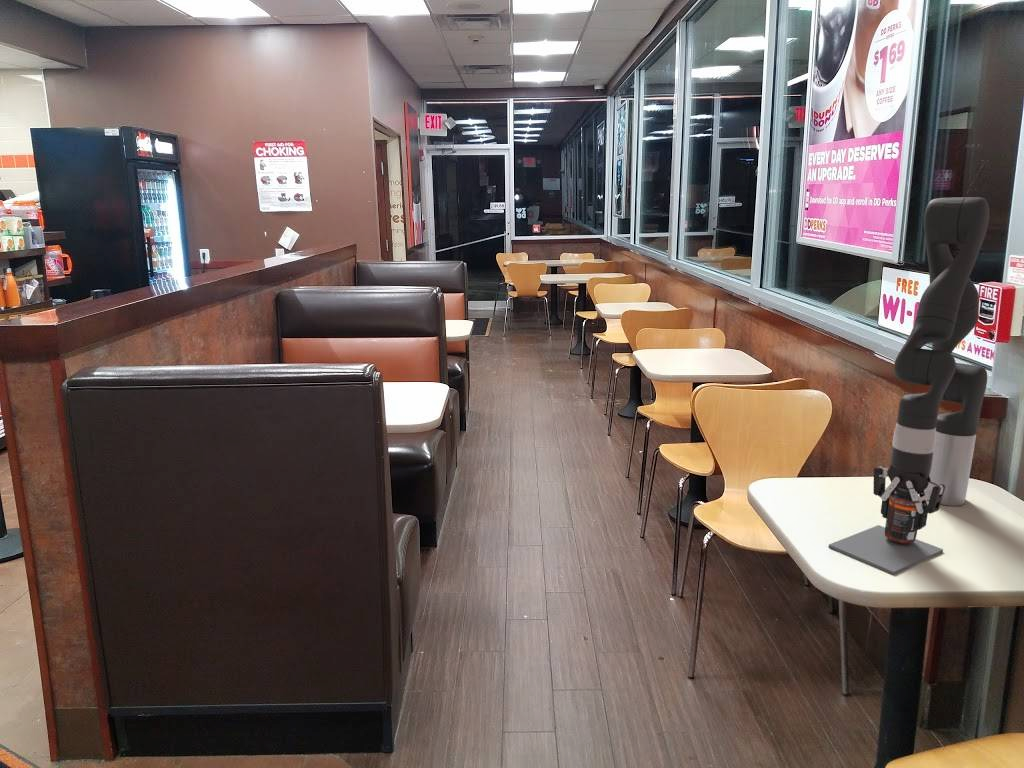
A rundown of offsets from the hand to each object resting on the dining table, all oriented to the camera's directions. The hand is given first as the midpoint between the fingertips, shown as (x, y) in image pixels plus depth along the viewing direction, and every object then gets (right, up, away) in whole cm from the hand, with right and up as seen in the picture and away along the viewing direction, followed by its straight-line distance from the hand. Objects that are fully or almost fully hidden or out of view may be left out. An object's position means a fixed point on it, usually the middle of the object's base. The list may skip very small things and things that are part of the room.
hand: (902, 522), depth 158 cm
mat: (-4, -5, -2) cm, 7 cm away
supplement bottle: (0, -4, +1) cm, 4 cm away
